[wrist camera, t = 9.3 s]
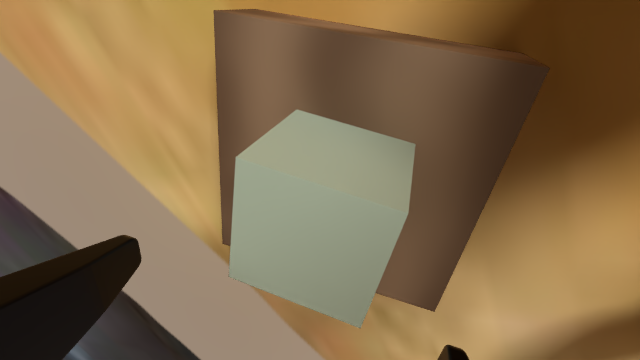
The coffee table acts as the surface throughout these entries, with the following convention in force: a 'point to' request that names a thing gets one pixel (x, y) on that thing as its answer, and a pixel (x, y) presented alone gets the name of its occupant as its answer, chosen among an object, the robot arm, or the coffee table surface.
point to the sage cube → (319, 213)
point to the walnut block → (381, 119)
